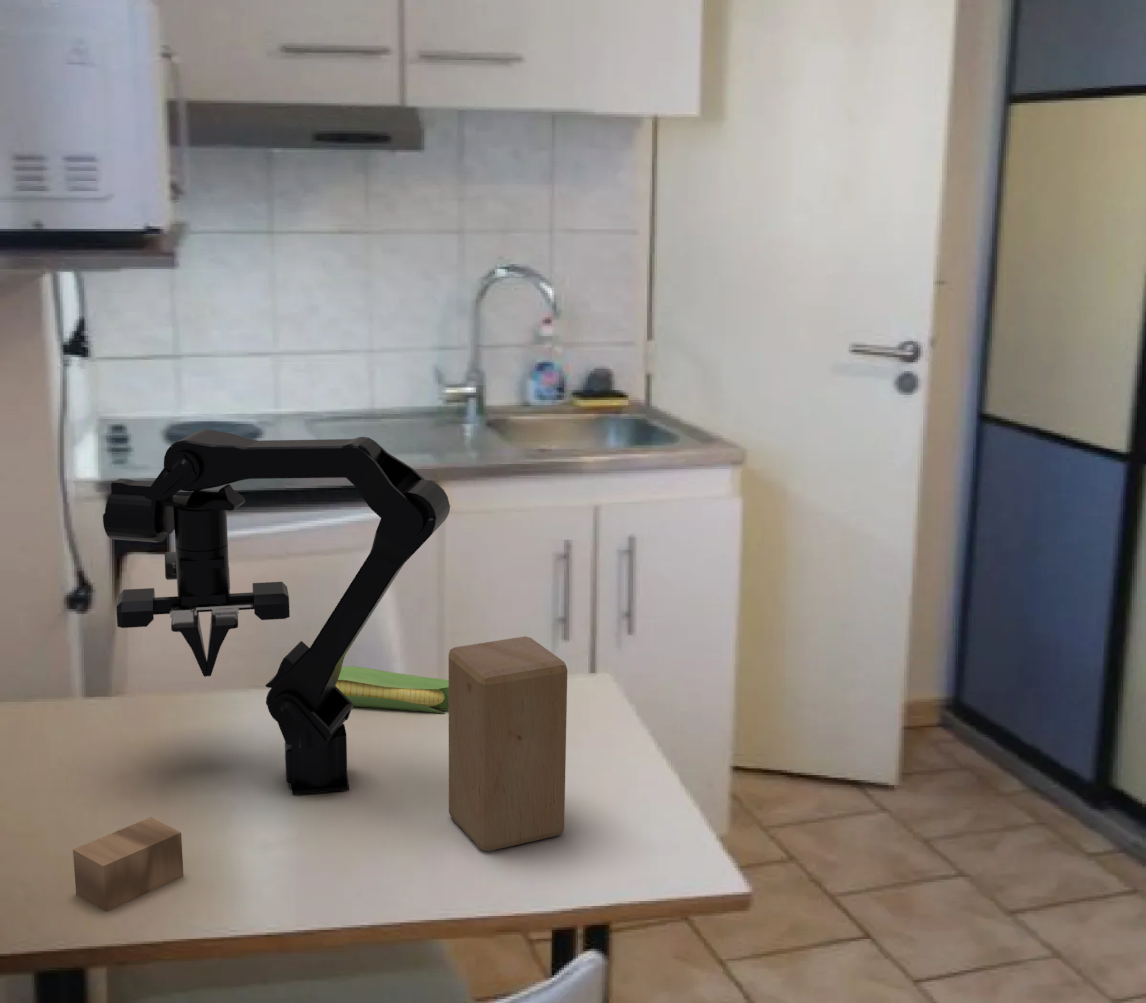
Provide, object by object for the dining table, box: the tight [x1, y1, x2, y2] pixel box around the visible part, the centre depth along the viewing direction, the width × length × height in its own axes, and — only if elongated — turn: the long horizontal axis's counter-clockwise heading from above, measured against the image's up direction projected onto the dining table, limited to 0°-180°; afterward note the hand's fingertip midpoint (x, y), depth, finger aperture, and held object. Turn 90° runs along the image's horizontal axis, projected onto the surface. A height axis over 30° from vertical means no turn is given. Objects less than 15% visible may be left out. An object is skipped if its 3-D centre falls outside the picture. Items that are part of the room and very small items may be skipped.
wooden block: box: [448, 636, 568, 852], centre depth 158 cm, size 10×10×20 cm
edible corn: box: [335, 665, 449, 715], centre depth 192 cm, size 5×20×5 cm
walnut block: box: [72, 817, 184, 912], centre depth 146 cm, size 5×5×9 cm
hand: (207, 675), depth 169 cm, fingers closed
